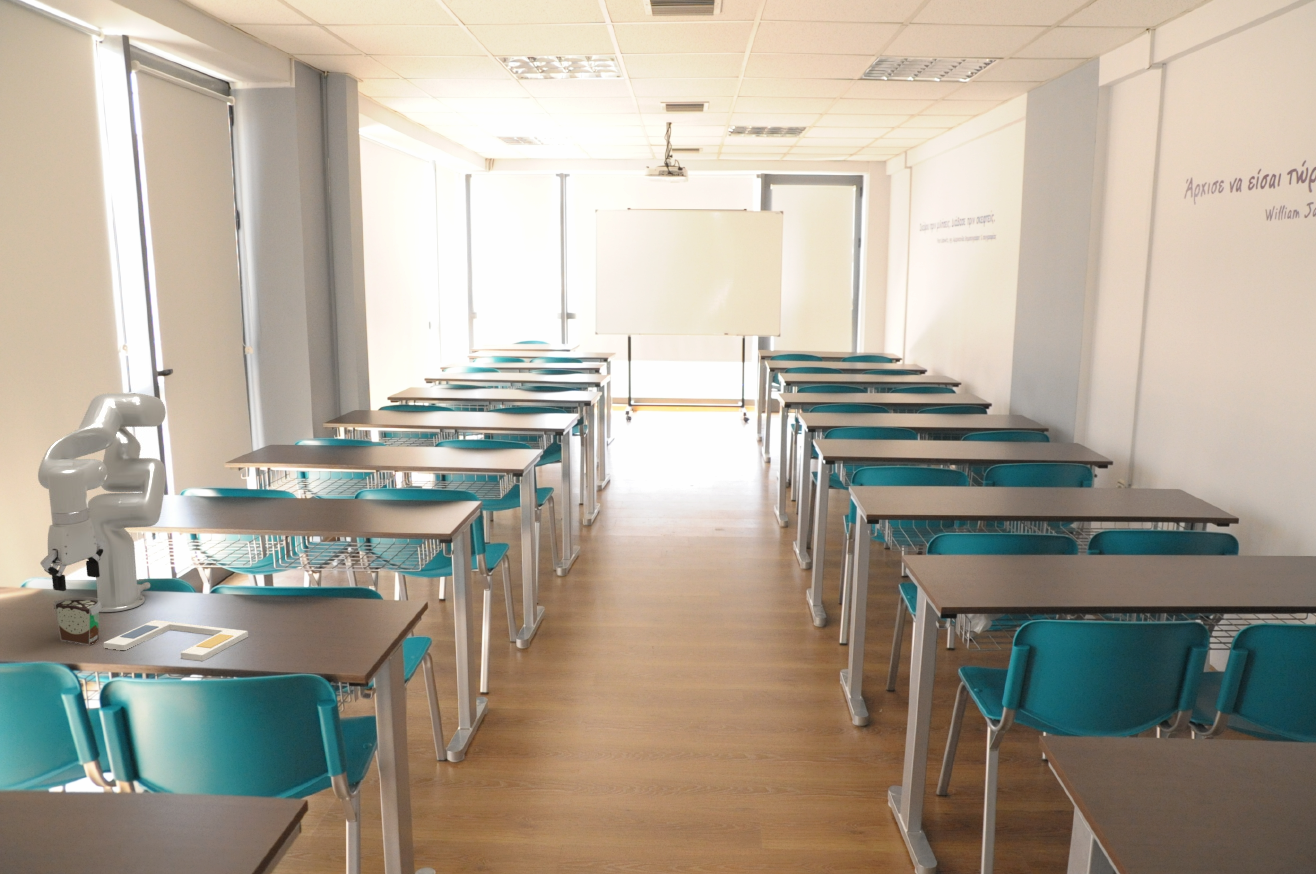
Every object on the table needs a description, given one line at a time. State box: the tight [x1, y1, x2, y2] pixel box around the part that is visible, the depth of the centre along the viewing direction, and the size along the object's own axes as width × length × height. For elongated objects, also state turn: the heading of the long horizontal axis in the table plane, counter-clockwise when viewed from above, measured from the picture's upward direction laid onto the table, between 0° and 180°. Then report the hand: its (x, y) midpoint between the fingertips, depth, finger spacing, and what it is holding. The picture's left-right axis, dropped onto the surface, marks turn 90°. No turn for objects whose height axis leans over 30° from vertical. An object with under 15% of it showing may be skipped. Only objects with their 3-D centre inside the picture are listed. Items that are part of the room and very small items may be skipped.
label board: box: [103, 619, 249, 662], centre depth 219 cm, size 16×28×2 cm, turn 77°
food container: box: [53, 596, 102, 646], centre depth 219 cm, size 12×6×10 cm, turn 73°
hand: (77, 583), depth 216 cm, fingers open, 9 cm apart
